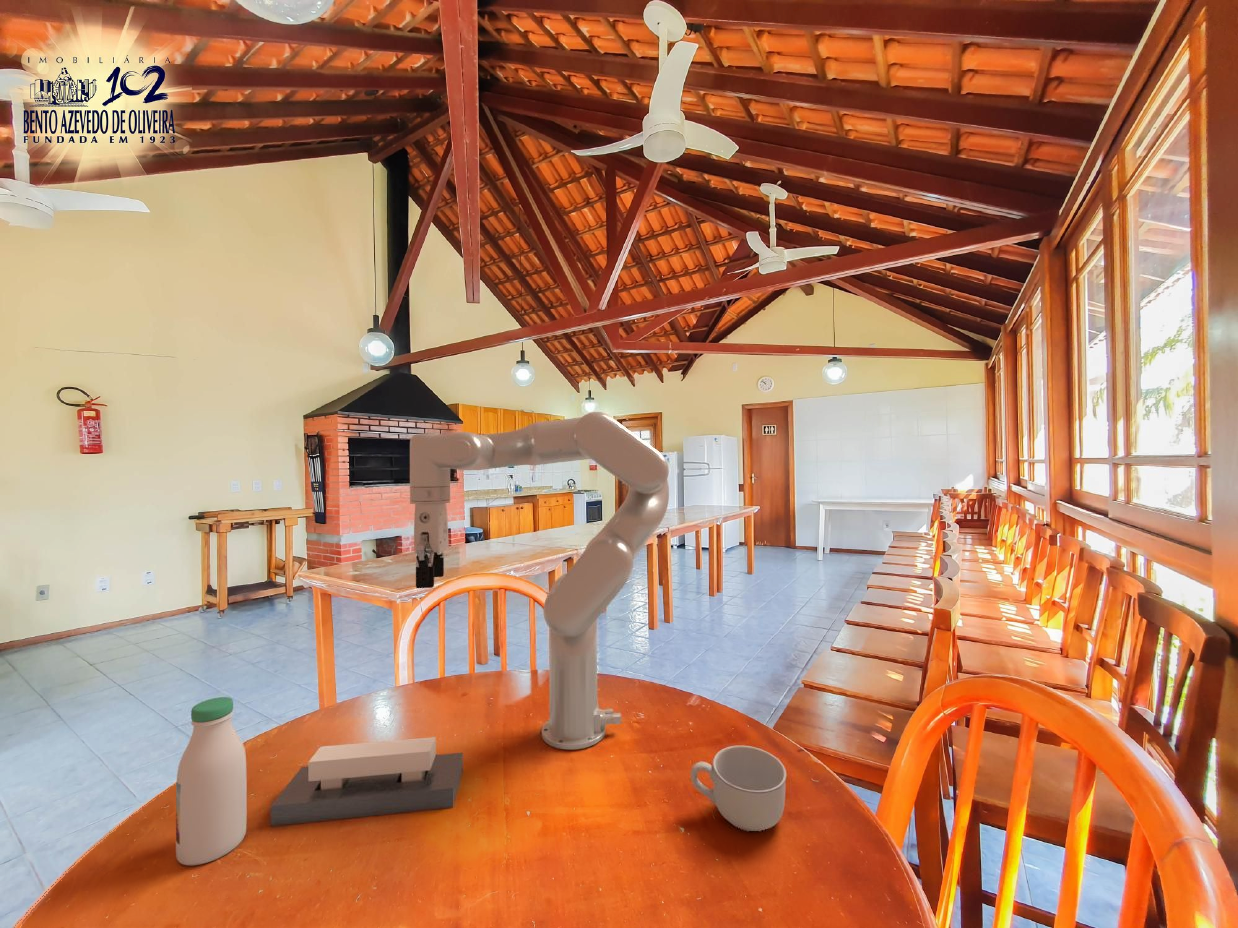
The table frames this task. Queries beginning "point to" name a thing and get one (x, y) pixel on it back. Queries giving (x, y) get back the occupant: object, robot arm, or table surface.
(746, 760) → the teacup
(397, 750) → the white peg bar
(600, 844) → the table surface
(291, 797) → the grey base board
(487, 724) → the table surface
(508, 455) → the robot arm
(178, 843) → the milk bottle
